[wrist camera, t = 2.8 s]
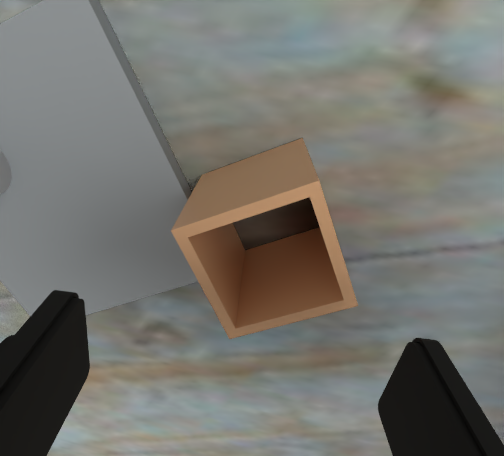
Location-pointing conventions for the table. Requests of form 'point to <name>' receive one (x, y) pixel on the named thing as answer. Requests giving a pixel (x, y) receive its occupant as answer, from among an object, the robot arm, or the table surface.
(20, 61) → the grey peg stand
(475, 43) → the table surface
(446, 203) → the table surface
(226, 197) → the hollow square tube
